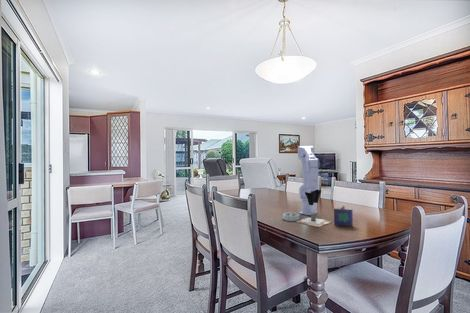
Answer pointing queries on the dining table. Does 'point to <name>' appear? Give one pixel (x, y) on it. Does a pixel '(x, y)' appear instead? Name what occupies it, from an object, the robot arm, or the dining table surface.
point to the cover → (313, 220)
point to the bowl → (291, 216)
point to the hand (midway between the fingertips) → (313, 203)
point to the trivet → (315, 224)
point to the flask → (343, 217)
